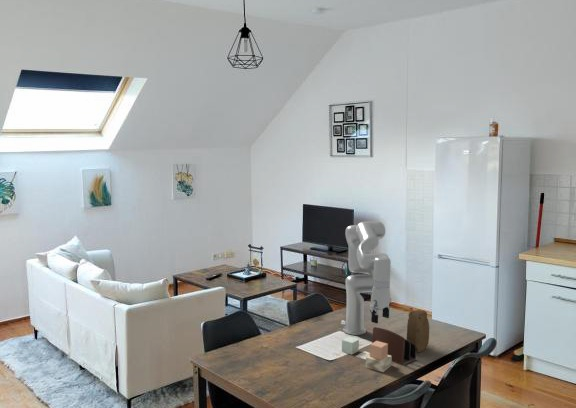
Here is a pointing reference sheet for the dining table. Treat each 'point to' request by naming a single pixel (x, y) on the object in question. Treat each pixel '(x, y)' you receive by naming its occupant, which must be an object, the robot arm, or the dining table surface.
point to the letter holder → (396, 345)
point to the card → (363, 355)
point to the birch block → (378, 363)
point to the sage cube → (350, 345)
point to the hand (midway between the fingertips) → (380, 319)
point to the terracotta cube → (378, 350)
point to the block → (418, 329)
